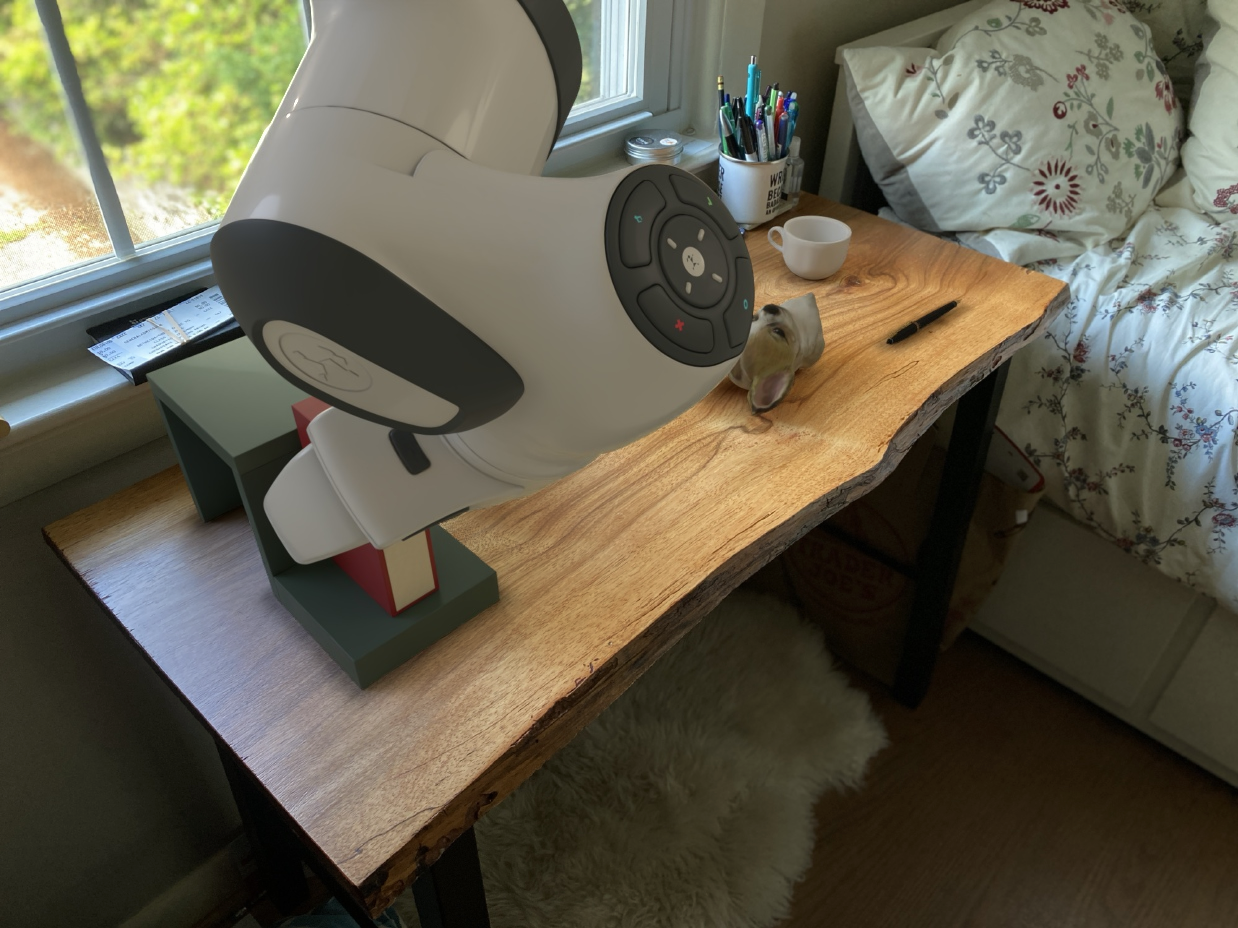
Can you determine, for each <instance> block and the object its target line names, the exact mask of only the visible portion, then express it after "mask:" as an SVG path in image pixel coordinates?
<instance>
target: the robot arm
mask: <svg viewBox="0 0 1238 928" xmlns="http://www.w3.org/2000/svg"><path fill="white" fill-rule="evenodd" d="M309 4H310V10H311V12H310V13H311V35H310V41H309V43H308V46H307V49H306V51H305V52H304V54H303V57H302V58H301V61H300V63H299V65H298V67H297V69H296V71H295V73H294V75H293V77H292V79H291V81H290V83H289V85H288V87H287V89H286V91H285V94H284V96H283V97H282V99H281V102H280V103H279V106H278V108H277V109H276V111H275V114H274V116H273V118H272V120H271V122H270V123H269V125H268V126H267V127H266V128H265V129H264V131H263V133H262V135H261V137H260V139H259V141H258V143H257V145H256V147H255V149H254V151H253V152H252V155H251V156H250V158H249V160H248V163H247V165H246V167H245V169H244V171H243V173H242V175H241V177H240V179H239V181H238V183H237V186H236V188H235V190H234V193H233V195H232V197H231V198H230V201H229V203H228V205H227V207H226V210H225V212H224V214H223V216H222V218H221V221H220V223H219V226H218V228H217V230H216V232H215V233H214V234H213V236H212V237H211V240H210V242H209V258H210V261H211V267H212V270H213V274H214V277H215V280H216V284H217V286H218V288H219V291H220V293H221V295H222V298H223V300H224V302H225V303H226V306H227V307H228V309H229V311H230V312H231V314H232V316H233V318H234V320H235V321H236V322H237V324H238V325H239V327H240V328H241V329H242V331H243V333H244V334H245V336H246V335H247V337H248V338H249V340H250V341H251V342H252V344H253V345H254V346H255V348H256V349H257V350H258V351H259V353H260V354H261V355H262V357H263V358H264V359H265V360H266V362H267V363H268V364H269V365H270V366H271V367H272V368H273V369H274V370H275V371H276V372H277V373H278V374H279V375H281V376H282V377H283V378H284V379H286V380H287V381H288V382H290V383H291V384H292V385H294V386H295V387H297V388H299V389H300V390H302V391H304V392H305V393H307V394H309V395H311V396H313V397H315V398H317V399H319V400H321V401H323V402H324V403H327V404H329V405H331V406H332V407H331V408H329V409H327V410H325V411H323V412H322V413H320V414H319V415H317V416H316V417H315V418H314V419H313V420H312V421H311V422H310V424H309V425H308V427H307V434H308V436H309V439H310V441H311V444H309V445H308V446H307V447H305V448H304V449H303V450H301V451H300V452H299V453H298V454H297V455H296V456H295V457H293V458H292V459H291V460H290V462H289V463H288V464H287V465H286V466H285V467H284V469H283V470H282V471H281V473H280V474H279V475H278V477H277V478H276V480H275V481H274V482H273V484H272V485H271V487H270V489H269V490H268V492H267V494H266V496H265V498H264V510H265V512H266V515H267V517H268V519H269V521H270V523H271V524H272V526H273V528H274V530H275V532H276V534H277V535H278V537H279V539H280V540H281V542H282V543H283V545H284V547H285V548H286V550H287V551H288V553H289V554H290V555H291V557H292V558H293V559H294V560H295V561H296V562H298V563H300V564H310V563H313V562H317V561H320V560H323V559H326V558H329V557H332V556H335V555H337V554H340V553H343V552H346V551H349V550H351V549H354V548H357V547H359V546H362V545H364V544H367V543H369V542H370V543H371V544H372V545H373V546H374V547H375V548H376V549H380V550H381V549H386V548H388V547H390V546H391V545H393V544H395V543H397V542H399V541H400V540H402V541H405V540H407V539H409V538H411V537H413V536H415V535H417V534H419V533H421V532H423V531H425V530H427V529H429V528H431V527H433V526H435V525H437V524H439V525H440V524H442V523H444V522H448V521H450V520H453V519H455V518H457V517H460V516H461V515H464V514H465V513H470V512H472V511H478V510H482V509H486V508H490V507H491V508H492V507H496V506H499V505H502V504H505V503H508V502H511V501H515V500H520V499H523V498H526V497H529V496H532V495H534V494H537V493H538V492H540V491H543V490H544V489H546V488H548V487H550V486H552V485H554V484H555V483H558V482H559V481H561V480H564V479H565V478H567V477H569V476H572V475H574V474H575V473H577V472H579V471H581V470H583V469H584V468H586V467H587V466H589V465H590V464H592V463H593V462H594V461H595V460H597V459H598V457H600V456H601V455H605V454H609V453H612V452H615V451H619V450H621V449H624V448H626V447H628V446H630V445H632V444H634V443H636V442H638V441H640V440H642V439H643V438H646V437H648V436H649V435H651V434H653V433H654V432H657V431H658V430H660V429H661V428H664V427H665V426H668V424H671V422H674V421H675V420H676V419H677V418H679V417H680V416H682V415H683V414H685V413H686V412H688V411H690V410H691V409H692V408H694V407H695V406H696V405H698V404H699V403H700V402H702V400H704V399H705V398H706V397H707V396H708V395H709V394H711V393H712V391H713V390H715V389H716V388H717V387H718V386H719V385H720V384H721V383H722V381H723V380H725V378H726V377H727V376H728V374H729V372H730V371H731V370H732V369H733V367H734V366H735V365H736V363H737V362H738V360H739V359H740V357H741V355H742V353H743V351H744V349H745V347H746V344H747V341H748V338H749V334H750V330H751V325H752V319H753V315H754V310H755V299H756V298H755V297H756V290H755V288H756V287H755V277H754V275H755V274H754V269H753V264H752V260H751V256H750V253H749V249H748V246H747V242H746V240H745V238H744V235H743V234H742V231H741V230H740V227H739V225H738V224H737V221H736V220H735V218H734V216H733V215H732V213H731V211H730V210H729V208H728V207H727V206H726V205H725V203H724V202H723V200H722V199H721V198H720V197H719V195H718V194H717V193H716V192H715V191H714V190H713V189H712V188H711V187H710V186H709V185H708V184H707V183H705V182H704V181H703V180H702V179H700V178H699V177H697V176H696V175H694V174H693V173H692V172H689V171H688V170H686V169H684V168H682V167H679V166H676V165H674V164H670V163H664V162H657V161H655V162H653V161H651V162H641V163H638V164H633V165H630V166H627V167H624V168H621V169H618V170H615V171H611V172H608V173H605V174H600V175H595V176H587V177H585V176H584V177H552V176H551V177H549V176H542V174H543V171H544V168H545V165H546V162H547V161H548V160H549V158H550V156H551V155H552V152H553V150H554V149H555V146H556V144H557V142H558V139H559V137H560V135H561V133H562V131H563V128H564V126H565V124H566V122H567V120H568V117H569V115H570V113H571V111H572V109H573V106H574V104H575V102H576V100H577V97H578V95H579V92H580V89H581V85H582V79H583V53H582V46H581V41H580V37H579V33H578V30H577V28H576V23H575V22H574V20H573V17H572V16H571V13H570V10H569V9H568V7H567V5H566V3H565V1H564V0H309Z"/></svg>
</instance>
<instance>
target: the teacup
mask: <svg viewBox="0 0 1238 928" xmlns="http://www.w3.org/2000/svg"><path fill="white" fill-rule="evenodd" d="M775 231H776V232H778V233H779V235H780V237H781V239H782V245H781V244H778V243H776V242H775V241H774V238H773V232H775ZM852 233H853V231H852V229H851V227H850V226H849V225H847V224H846V223H845V222H843V221H841V220H839V219H836V218H831V217H827V216H820V215H803V216H802V215H801V216H796V217H793V218H790V219H788V220H787V221H786V222H785V223H784V225H783V227H782V226H778V225H777V226H773V227H771V228H770V229H769V230H768V232H767V239H768V240H767V241H768V242H769V244H770V245H771V246H772V247H773V248H774V249H776V250H777V251H778V252H780V253H781V254H782V257H783V260H784V261H783V262H784V263H785V265H786V267H787V269H788V270H789V271H790V272H792V273H793V274H794V275H795V276H797V277H799V278H801V279H806V280H810V281H811V280H813V281H817V280H818V281H819V280H823V279H826V278H829V277H831V276H833V275H834V274H836V273H837V272H838V271H839V270H840V269H841V268H842V266H843V265H844V263H845V261H846V258H847V255H848V251H849V247H850V243H851V239H852Z"/></svg>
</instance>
